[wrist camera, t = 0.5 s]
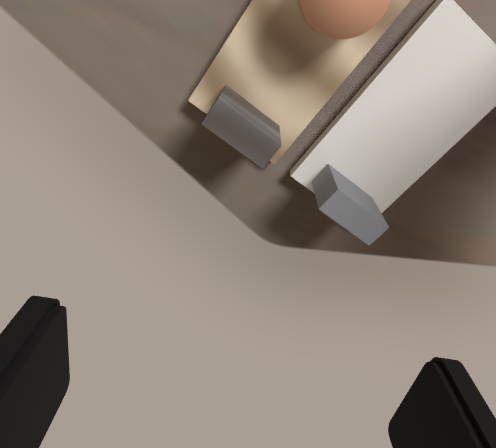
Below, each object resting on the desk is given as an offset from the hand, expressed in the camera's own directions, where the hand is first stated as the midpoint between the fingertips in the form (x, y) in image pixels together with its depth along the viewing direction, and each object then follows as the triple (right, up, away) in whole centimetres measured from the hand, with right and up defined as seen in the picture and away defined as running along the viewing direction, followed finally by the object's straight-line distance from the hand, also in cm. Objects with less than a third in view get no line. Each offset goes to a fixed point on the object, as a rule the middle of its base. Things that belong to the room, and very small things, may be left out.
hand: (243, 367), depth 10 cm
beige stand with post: (+4, +20, +23) cm, 30 cm away
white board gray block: (+14, +13, +26) cm, 32 cm away
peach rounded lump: (+7, +22, +20) cm, 30 cm away
